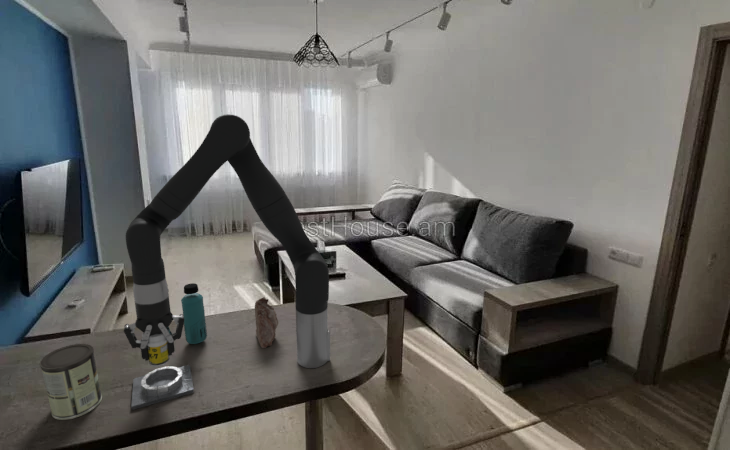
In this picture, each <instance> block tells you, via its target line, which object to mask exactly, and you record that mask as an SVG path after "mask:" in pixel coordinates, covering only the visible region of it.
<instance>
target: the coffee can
mask: <svg viewBox="0 0 730 450" xmlns="http://www.w3.org/2000/svg"><path fill="white" fill-rule="evenodd" d="M94 351H95V350H94V346H92V345H91V344H86V343H76V344H70V345H66V346H62V347H60V348H58V349H55V350H53V351H51V352H49V353H48V354H46V355H44V357H42V358H41V360H39V361H40V362H39V367H40V369H41V374H42V378H43V381H44V385H45V390H46V394H47V398H48V403H49V407H50V411H51V416H52V418H53V419H55V420H58V421H59V420H60V421H66V420H72V419H73V420H74V419H76V418H78V417H81V416H84V415H86V414H88V413H90V412H91V411H93V410H94V409H96V407H98V405H100V403H101V402H102V399H103V394H102V391H101V385H100V382H99V375H98V371H97V364H96V359H95V354H94Z"/></svg>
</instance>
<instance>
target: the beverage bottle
mask: <svg viewBox="0 0 730 450" xmlns="http://www.w3.org/2000/svg"><path fill="white" fill-rule="evenodd" d="M198 292H199V287H198V284H197V283H187V284H185V285H184V287H183V294H185V295H183V297H182V298H181V300H180V301H181V308H182V314H183V315H184V325H183V329H184V338H185V341H186V342H187V343H188V344H190V345H193V344H194V345H197V344H200V343H202V342H204V341H206V339H207V337H208V332H207V331H208V328H207V322H206V315H205V313H206V312H205V306H204V305H205V304H204V297H203V295H202V294H200V293H198Z"/></svg>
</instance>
